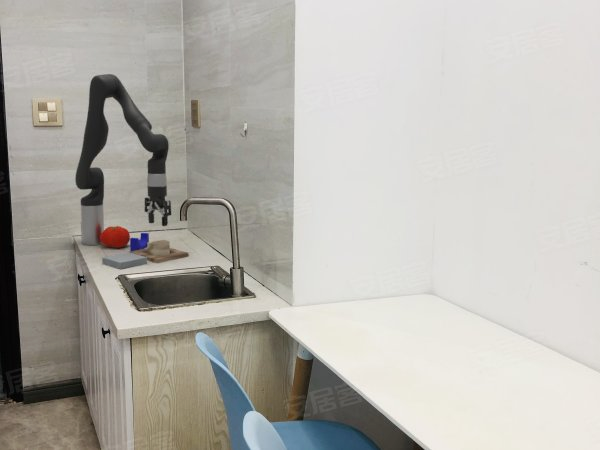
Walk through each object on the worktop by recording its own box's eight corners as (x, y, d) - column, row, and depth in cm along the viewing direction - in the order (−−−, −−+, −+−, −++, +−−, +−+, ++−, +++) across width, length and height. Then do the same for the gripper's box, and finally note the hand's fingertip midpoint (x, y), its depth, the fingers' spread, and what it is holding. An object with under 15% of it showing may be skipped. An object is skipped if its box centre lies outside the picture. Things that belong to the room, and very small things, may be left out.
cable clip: (139, 246, 271) (138, 232, 270) (149, 246, 271) (148, 233, 270) (127, 252, 260) (126, 238, 259) (137, 252, 259) (136, 238, 258)
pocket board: (129, 255, 254) (129, 251, 254) (160, 249, 266) (160, 245, 266) (156, 263, 243) (156, 259, 242) (188, 256, 255) (188, 252, 254)
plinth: (102, 263, 240) (102, 257, 240) (128, 258, 249) (128, 252, 249) (120, 269, 233) (120, 262, 232) (147, 263, 242) (147, 257, 241)
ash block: (147, 256, 253) (147, 242, 251) (163, 253, 259) (163, 239, 257) (153, 258, 250) (153, 244, 249) (169, 255, 256) (169, 241, 255)
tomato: (98, 244, 271) (97, 225, 270) (127, 242, 276) (127, 223, 275) (102, 251, 260) (101, 231, 258) (132, 248, 265) (132, 229, 264)
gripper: (138, 183, 250) (139, 223, 253) (160, 187, 241) (161, 228, 244) (153, 182, 256) (154, 221, 259) (175, 185, 247) (176, 225, 250)
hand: (158, 224), depth 252 cm, fingers open, 8 cm apart
